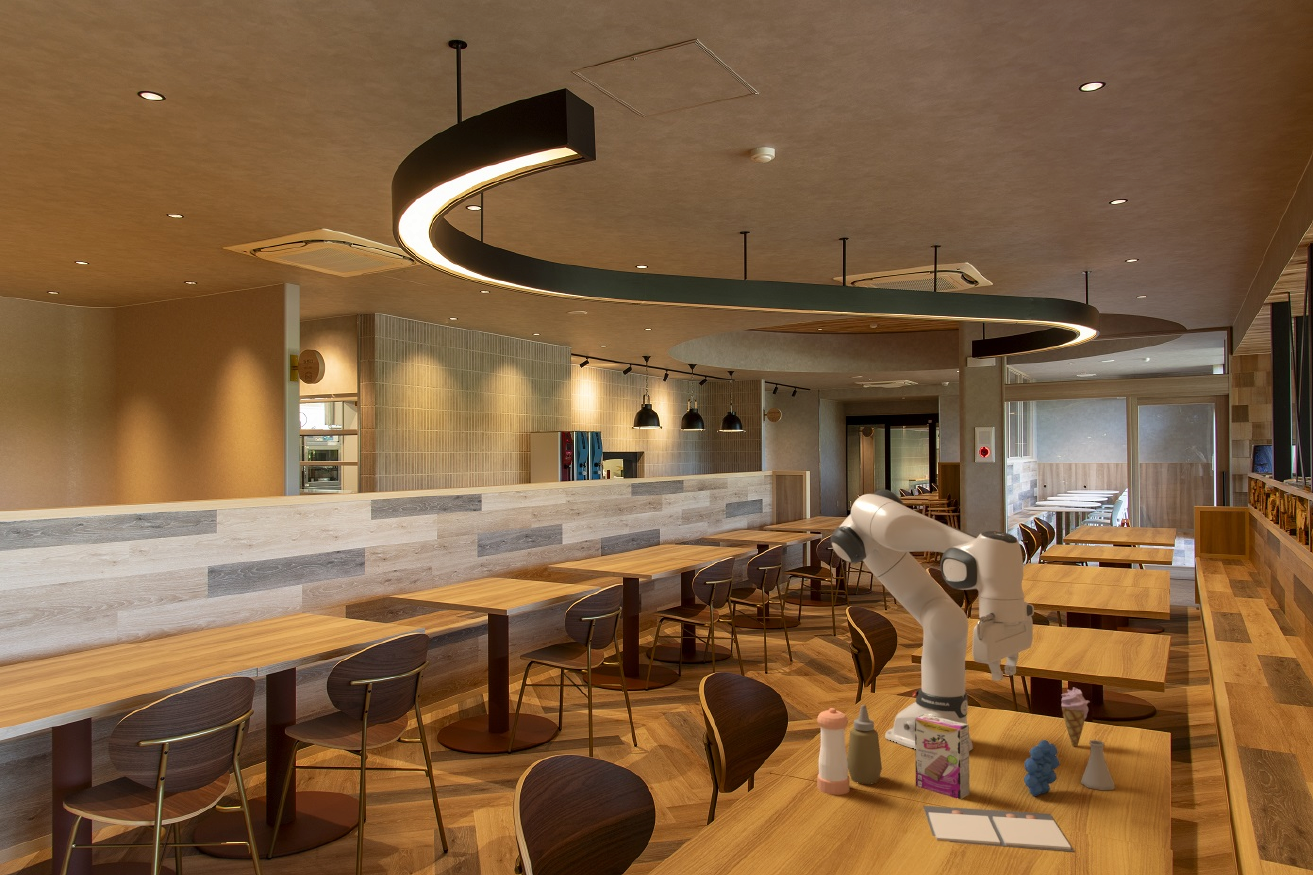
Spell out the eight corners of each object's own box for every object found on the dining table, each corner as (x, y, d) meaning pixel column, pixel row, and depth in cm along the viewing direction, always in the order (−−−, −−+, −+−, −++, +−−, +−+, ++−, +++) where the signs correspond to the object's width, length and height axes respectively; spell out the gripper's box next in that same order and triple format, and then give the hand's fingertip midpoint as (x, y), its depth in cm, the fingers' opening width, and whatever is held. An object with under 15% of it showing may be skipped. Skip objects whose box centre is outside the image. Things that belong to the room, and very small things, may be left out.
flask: (1119, 792, 193) (1118, 748, 193) (1085, 790, 194) (1084, 746, 194) (1109, 780, 200) (1108, 737, 200) (1076, 778, 201) (1075, 736, 201)
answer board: (934, 845, 168) (934, 838, 168) (923, 809, 185) (923, 803, 185) (1074, 855, 163) (1074, 848, 163) (1050, 817, 180) (1050, 811, 180)
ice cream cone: (1091, 744, 224) (1090, 687, 224) (1089, 751, 219) (1088, 693, 219) (1063, 739, 227) (1062, 684, 228) (1060, 746, 222) (1059, 689, 222)
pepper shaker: (852, 788, 196) (851, 705, 197) (845, 800, 190) (844, 714, 190) (821, 783, 199) (820, 702, 200) (814, 795, 193) (812, 710, 193)
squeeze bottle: (883, 777, 203) (882, 702, 203) (880, 790, 195) (879, 712, 195) (849, 773, 205) (848, 699, 206) (845, 786, 198) (844, 709, 198)
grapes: (1040, 782, 199) (1039, 731, 199) (1067, 791, 193) (1066, 739, 194) (1009, 793, 193) (1008, 740, 193) (1036, 803, 187) (1035, 749, 187)
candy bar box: (914, 788, 196) (913, 717, 196) (925, 782, 200) (923, 712, 200) (960, 802, 188) (959, 728, 188) (970, 795, 192) (969, 723, 192)
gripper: (993, 619, 166) (995, 690, 166) (1037, 605, 180) (1039, 670, 180) (963, 615, 171) (965, 684, 170) (1008, 602, 185) (1010, 665, 184)
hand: (1004, 677), depth 175 cm, fingers open, 4 cm apart
